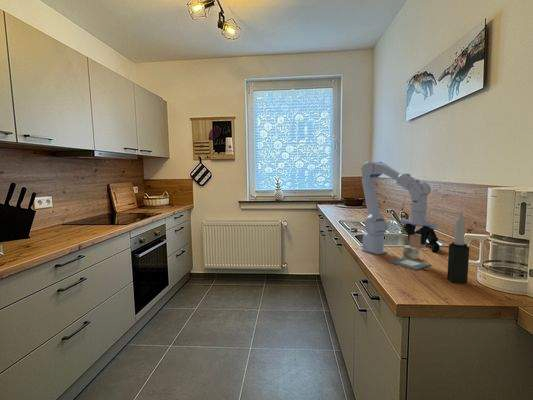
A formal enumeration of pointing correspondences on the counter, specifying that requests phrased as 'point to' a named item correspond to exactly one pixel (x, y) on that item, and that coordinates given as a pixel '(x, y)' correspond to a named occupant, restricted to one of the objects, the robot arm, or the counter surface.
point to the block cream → (410, 252)
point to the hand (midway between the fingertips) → (417, 242)
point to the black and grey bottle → (458, 254)
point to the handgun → (431, 240)
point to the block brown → (416, 241)
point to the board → (410, 263)
